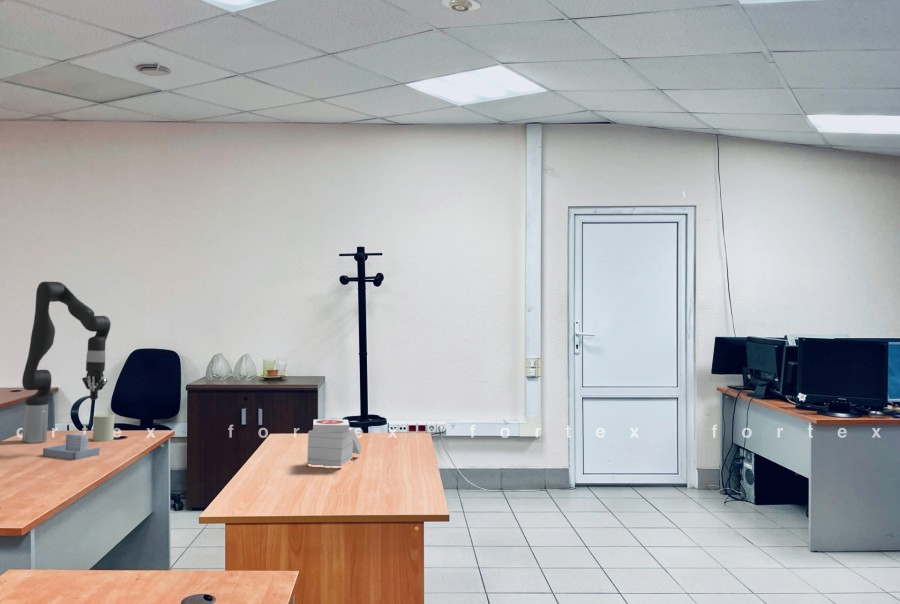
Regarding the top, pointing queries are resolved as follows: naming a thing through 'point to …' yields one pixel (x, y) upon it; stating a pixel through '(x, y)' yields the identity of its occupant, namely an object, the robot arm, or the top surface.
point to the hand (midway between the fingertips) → (93, 399)
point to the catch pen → (69, 452)
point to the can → (103, 427)
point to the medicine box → (76, 442)
